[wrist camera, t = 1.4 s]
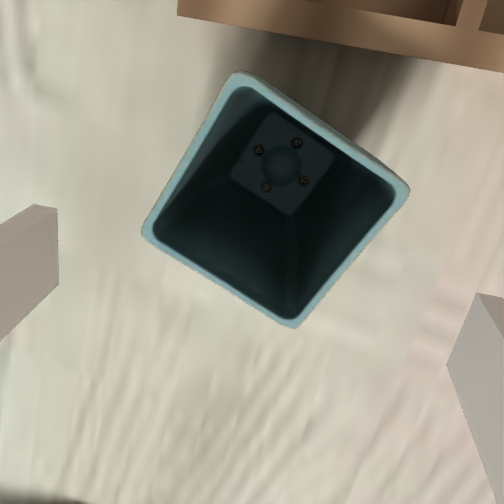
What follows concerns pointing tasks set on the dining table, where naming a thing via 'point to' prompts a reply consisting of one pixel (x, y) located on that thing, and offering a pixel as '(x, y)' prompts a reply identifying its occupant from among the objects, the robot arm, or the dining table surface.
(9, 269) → the robot arm
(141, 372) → the dining table surface
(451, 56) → the wooden divided tray
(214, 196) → the flower pot
